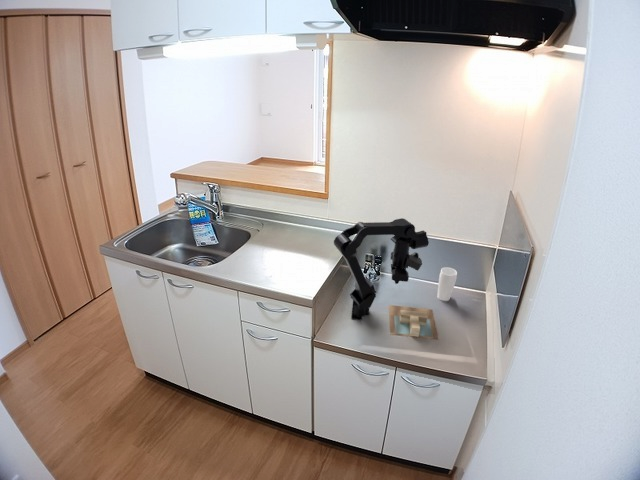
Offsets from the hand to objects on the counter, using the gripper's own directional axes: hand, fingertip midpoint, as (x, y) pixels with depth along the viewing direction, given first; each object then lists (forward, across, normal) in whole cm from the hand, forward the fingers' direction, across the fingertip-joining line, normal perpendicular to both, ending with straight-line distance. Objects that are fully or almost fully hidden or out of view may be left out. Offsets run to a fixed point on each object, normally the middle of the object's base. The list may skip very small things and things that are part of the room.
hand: (396, 283), depth 148 cm
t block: (+10, -14, -7) cm, 19 cm away
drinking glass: (+12, +8, -22) cm, 26 cm away
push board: (+12, -10, -7) cm, 17 cm away
